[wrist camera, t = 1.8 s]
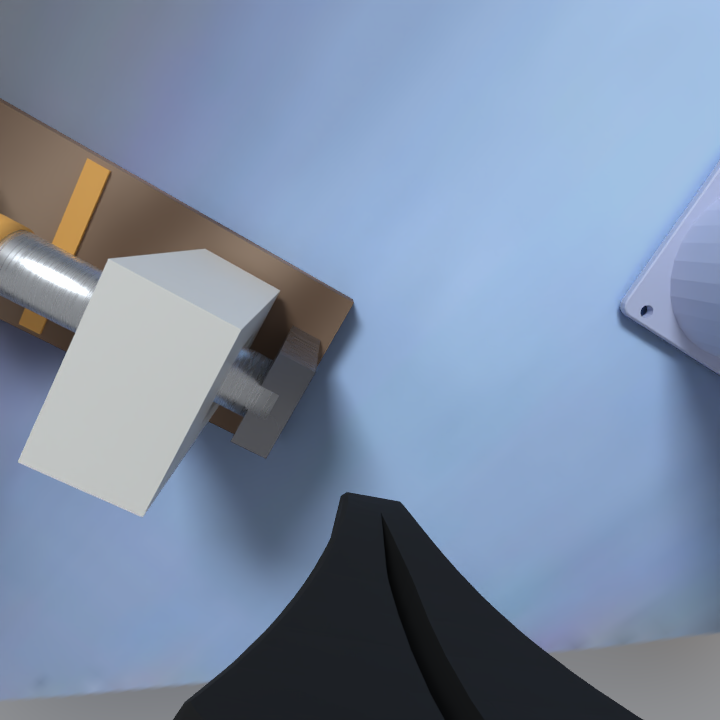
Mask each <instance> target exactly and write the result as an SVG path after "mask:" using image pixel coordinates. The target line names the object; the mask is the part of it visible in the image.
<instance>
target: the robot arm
mask: <svg viewBox="0 0 720 720" xmlns="http://www.w3.org/2000/svg"><path fill="white" fill-rule="evenodd" d="M644 306H646V307H647V312H646V314H644V315H643V316H641V309H642V308H643V307H644ZM620 308H621V311H622V313H623V314H624V315H626V316H627V317H629V318H630V319H632V320H634V321H635V322H637V323H638V324H640V325H641V326H643V327H645V328H646V329H648V330H649V331H651V332H652V333H654V334H656V335H657V336H659V337H660V338H662V339H663V340H665V341H667V342H668V343H670V344H671V345H673V346H674V347H676V348H678V349H679V350H681V351H682V352H684V353H685V354H687V355H689V356H690V357H692V358H693V359H695V360H696V361H698V362H700V363H701V364H703V365H704V366H706V367H707V368H709V369H711V370H712V371H714V372H715V373H717V374H718V375H720V160H719V162H718V163H717V165H716V166H715V168H714V169H713V170H712V172H711V173H710V175H709V176H708V178H707V179H706V180H705V182H704V183H703V185H702V186H701V187H700V189H699V190H698V192H697V193H696V195H695V196H694V197H693V199H692V200H691V202H690V203H689V205H688V206H687V207H686V209H685V210H684V212H683V213H682V215H681V216H680V217H679V219H678V220H677V222H676V223H675V225H674V226H673V227H672V229H671V230H670V232H669V233H668V235H667V236H666V237H665V239H664V240H663V242H662V243H661V244H660V246H659V247H658V249H657V250H656V252H655V253H654V254H653V256H652V257H651V259H650V260H649V262H648V263H647V264H646V266H645V267H644V269H643V270H642V272H641V273H640V274H639V276H638V277H637V279H636V280H635V282H634V283H633V284H632V286H631V287H630V289H629V290H628V292H627V293H626V294H625V296H624V297H623V299H622V301H621V304H620ZM173 720H643V719H641V718H639V717H638V716H636V715H635V714H633V713H632V712H630V711H629V710H627V709H626V708H624V707H623V706H621V705H620V704H618V703H617V702H615V701H614V700H612V699H610V698H609V697H608V696H606V695H604V694H603V693H601V692H600V691H598V690H597V689H595V688H594V687H593V686H591V685H590V684H588V683H587V682H586V681H584V680H583V679H581V678H580V677H578V676H577V675H576V674H574V673H573V672H571V671H570V670H569V669H568V668H566V667H565V666H564V665H562V664H561V663H560V662H558V661H557V660H556V659H555V658H553V657H552V656H551V655H549V654H548V653H547V652H545V651H544V650H543V649H542V648H540V647H539V646H538V645H536V644H535V643H534V642H533V641H532V640H530V639H529V638H528V637H527V636H525V635H524V634H523V633H522V632H521V631H520V630H518V629H517V628H516V627H515V626H514V625H513V624H512V623H511V622H509V621H508V620H507V619H506V618H505V617H504V616H503V615H502V614H501V613H499V612H498V611H497V610H496V609H495V608H494V607H493V606H492V605H491V604H490V603H489V602H488V601H487V600H486V599H484V598H483V597H482V596H481V595H480V594H479V593H478V592H477V590H476V589H475V588H474V587H473V586H472V585H471V584H470V583H469V582H468V581H467V580H466V579H465V578H464V577H463V576H462V575H461V574H460V573H459V572H458V570H457V569H456V568H455V567H454V566H453V565H452V564H451V563H450V561H449V560H448V559H447V558H446V557H445V556H444V555H443V553H442V552H441V551H440V550H439V549H438V547H437V546H436V545H435V544H434V543H433V541H432V540H431V539H430V538H429V537H428V535H427V534H426V533H425V532H424V530H423V529H422V528H421V527H420V525H419V524H418V523H417V522H416V520H415V519H414V518H413V517H412V515H411V514H410V513H409V512H408V510H407V509H406V508H405V507H404V506H403V504H402V503H401V502H399V501H393V500H388V499H382V498H377V497H371V496H365V495H360V494H354V493H349V492H347V493H345V494H343V495H342V496H341V498H340V502H339V506H338V510H337V514H336V518H335V522H334V526H333V530H332V535H331V538H330V540H329V542H328V544H327V546H326V548H325V550H324V552H323V554H322V555H321V557H320V559H319V561H318V562H317V564H316V566H315V568H314V569H313V571H312V572H311V574H310V575H309V577H308V578H307V580H306V581H305V583H304V584H303V586H302V587H301V588H300V590H299V591H298V593H297V594H296V595H295V597H294V598H293V599H292V600H291V602H290V603H289V604H288V605H287V606H286V608H285V609H284V610H283V611H282V613H281V614H280V615H279V616H278V617H277V619H276V620H275V621H274V622H273V623H272V624H271V625H270V626H269V627H268V629H267V630H266V631H265V632H264V633H263V634H262V635H261V636H260V637H259V638H258V639H257V640H256V641H255V642H254V643H252V644H251V645H250V646H249V647H248V648H247V649H246V650H245V651H244V652H243V653H242V654H241V655H240V656H239V657H238V658H237V659H236V660H235V661H234V662H233V663H232V664H231V665H230V666H228V667H227V668H226V669H225V670H224V671H222V672H221V673H220V674H219V675H218V676H216V677H215V678H214V679H213V680H211V681H210V682H209V683H208V684H206V685H205V686H204V687H203V688H202V689H201V690H199V691H198V692H197V693H195V694H194V695H193V696H192V697H191V698H189V699H188V700H187V701H186V702H185V703H184V704H183V706H182V707H181V709H180V710H179V712H178V713H177V715H176V716H175V718H174V719H173Z"/></svg>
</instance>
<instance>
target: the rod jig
mask: <svg viewBox="0 0 720 720" xmlns="http://www.w3.org/2000/svg"><path fill="white" fill-rule="evenodd" d="M197 249H207V250H208V251H210V252H212V253H214V254H216V255H217V256H219V257H221V258H223V259H225V260H226V261H228V262H230V263H232V264H233V265H235V266H237V267H239V268H241V269H242V270H244V271H246V272H248V273H250V274H251V275H253V276H255V277H257V278H259V279H260V280H262V281H264V282H266V283H268V284H269V285H271V286H273V287H275V288H277V289H278V290H280V292H279V294H278V296H277V298H276V300H275V302H274V304H273V305H272V307H271V309H270V311H269V313H268V315H267V317H266V319H265V320H264V322H263V324H262V326H261V328H260V330H259V332H258V334H257V335H256V337H255V339H254V341H253V343H252V345H251V347H250V348H249V347H247V346H245V345H244V346H243V347H242V348H241V350H240V352H239V354H238V356H237V357H236V359H235V361H234V363H233V365H232V367H231V369H230V371H229V373H228V374H227V376H226V378H225V380H224V382H223V384H222V386H221V388H220V389H219V391H218V393H217V395H216V397H215V399H214V401H213V402H215V403H217V404H219V406H218V408H217V410H216V411H215V413H214V414H213V415H212V417H211V418H210V420H209V422H211V423H213V424H215V425H217V426H219V427H221V428H223V429H225V430H227V431H229V432H231V433H233V434H234V436H233V438H232V440H231V442H233V443H235V444H237V445H239V446H241V447H243V448H245V449H247V450H249V451H251V452H253V453H255V454H257V455H260V456H262V457H264V458H267V456H268V454H269V452H270V451H271V449H272V447H273V446H274V444H275V442H276V440H277V439H278V437H279V435H280V433H281V432H282V430H283V428H284V426H285V425H286V423H287V421H288V419H289V418H290V416H291V414H292V412H293V411H294V409H295V407H296V405H297V404H298V402H299V400H300V399H301V397H302V395H303V393H304V392H305V390H306V388H307V386H308V385H309V383H310V381H311V379H312V378H313V376H314V374H315V372H316V368H317V366H318V364H319V363H320V361H321V359H322V357H323V356H324V354H325V352H326V350H327V349H328V347H329V345H330V343H331V342H332V340H333V338H334V336H335V335H336V333H337V331H338V329H339V328H340V326H341V324H342V322H343V321H344V319H345V317H346V315H347V314H348V312H349V310H350V308H351V307H352V305H353V303H354V302H353V299H351V298H349V297H348V296H346V295H344V294H342V293H341V292H339V291H337V290H335V289H334V288H332V287H330V286H328V285H327V284H325V283H323V282H321V281H320V280H318V279H316V278H314V277H313V276H311V275H309V274H307V273H306V272H304V271H302V270H300V269H299V268H297V267H295V266H293V265H292V264H290V263H288V262H286V261H285V260H283V259H281V258H279V257H278V256H276V255H274V254H272V253H271V252H269V251H267V250H265V249H264V248H262V247H260V246H258V245H257V244H255V243H253V242H251V241H250V240H248V239H246V238H244V237H243V236H241V235H239V234H237V233H236V232H234V231H232V230H230V229H229V228H227V227H225V226H223V225H221V224H220V223H218V222H216V221H214V220H213V219H211V218H209V217H207V216H206V215H204V214H202V213H200V212H199V211H197V210H195V209H193V208H192V207H190V206H188V205H186V204H185V203H183V202H181V201H179V200H178V199H176V198H174V197H172V196H171V195H169V194H167V193H165V192H164V191H162V190H160V189H158V188H157V187H155V186H153V185H151V184H150V183H148V182H146V181H144V180H143V179H141V178H139V177H137V176H136V175H134V174H132V173H130V172H129V171H127V170H125V169H123V168H122V167H120V166H118V165H116V164H115V163H113V162H111V161H109V160H108V159H106V158H104V157H102V156H101V155H99V154H97V153H95V152H94V151H92V150H90V149H88V148H87V147H85V146H83V145H81V144H79V143H78V142H76V141H74V140H72V139H71V138H69V137H67V136H65V135H64V134H62V133H60V132H58V131H57V130H55V129H53V128H51V127H50V126H48V125H46V124H44V123H43V122H41V121H39V120H37V119H36V118H34V117H32V116H30V115H29V114H27V113H25V112H23V111H22V110H20V109H18V108H16V107H15V106H13V105H11V104H9V103H8V102H6V101H4V100H2V99H1V98H0V319H1V320H3V321H5V322H7V323H9V324H11V325H13V326H15V327H17V328H19V329H21V330H23V331H25V332H27V333H29V334H31V335H33V336H35V337H37V338H39V339H42V340H44V341H46V342H48V343H50V344H52V345H54V346H56V347H58V348H60V349H62V350H64V351H66V352H67V350H68V348H69V346H70V344H71V341H72V339H73V337H74V335H75V332H76V330H77V328H78V326H79V323H80V321H81V319H82V317H83V314H84V312H85V310H86V308H87V305H88V303H89V301H90V299H91V297H92V294H93V292H94V290H95V288H96V285H97V283H98V281H99V279H100V276H101V274H102V272H103V270H104V267H105V265H106V263H107V261H108V259H110V258H120V257H130V256H139V255H149V254H159V253H168V252H178V251H188V250H197Z"/></svg>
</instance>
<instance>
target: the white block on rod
mask: <svg viewBox="0 0 720 720" xmlns="http://www.w3.org/2000/svg"><path fill="white" fill-rule="evenodd" d="M279 292H280V290H278V289H277V288H275V287H273V286H271V285H269V284H268V283H266V282H264V281H262V280H260V279H259V278H257V277H255V276H253V275H251V274H250V273H248V272H246V271H244V270H242V269H241V268H239V267H237V266H235V265H233V264H232V263H230V262H228V261H226V260H225V259H223V258H221V257H219V256H217V255H216V254H214V253H212V252H210V251H208V250H207V249H197V250H188V251H178V252H168V253H159V254H149V255H139V256H130V257H120V258H110V259H108V261H107V263H106V265H105V267H104V270H103V272H102V274H101V276H100V279H99V281H98V283H97V285H96V288H95V290H94V292H93V294H92V297H91V299H90V301H89V303H88V305H87V308H86V310H85V312H84V314H83V317H82V319H81V321H80V323H79V326H78V328H77V330H76V332H75V335H74V337H73V339H72V341H71V344H70V346H69V348H68V350H67V353H66V355H65V357H64V359H63V362H62V364H61V366H60V368H59V371H58V373H57V375H56V377H55V380H54V382H53V384H52V386H51V389H50V391H49V393H48V395H47V398H46V400H45V402H44V404H43V407H42V409H41V411H40V413H39V415H38V418H37V420H36V422H35V424H34V427H33V429H32V431H31V433H30V436H29V438H28V440H27V442H26V445H25V447H24V449H23V451H22V454H21V456H20V458H19V460H18V463H21V464H23V465H25V466H27V467H30V468H32V469H34V470H36V471H39V472H41V473H43V474H45V475H48V476H50V477H52V478H55V479H57V480H59V481H61V482H64V483H66V484H68V485H70V486H73V487H75V488H77V489H79V490H82V491H84V492H86V493H88V494H91V495H93V496H95V497H98V498H100V499H102V500H104V501H107V502H109V503H111V504H113V505H116V506H118V507H120V508H122V509H125V510H127V511H129V512H131V513H134V514H136V515H138V516H141V517H143V516H144V515H145V513H146V512H147V510H148V509H149V507H150V506H151V504H152V503H153V502H154V500H155V499H156V497H157V496H158V494H159V493H160V491H161V490H162V488H163V487H164V486H165V484H166V483H167V481H168V480H169V478H170V477H171V475H172V474H173V472H174V471H175V469H176V468H177V467H178V465H179V464H180V462H181V461H182V459H183V458H184V456H185V455H186V453H187V452H188V450H189V449H190V448H191V446H192V445H193V443H194V442H195V440H196V439H197V437H198V436H199V434H200V433H201V431H202V430H203V429H204V427H205V426H206V424H207V423H208V421H209V420H210V418H211V417H212V415H213V414H214V413H215V411H216V410H217V408H218V406H219V404H217V403H215V402H213V401H214V399H215V397H216V395H217V393H218V391H219V389H220V388H221V386H222V384H223V382H224V380H225V378H226V376H227V374H228V373H229V371H230V369H231V367H232V365H233V363H234V361H235V359H236V357H237V356H238V354H239V352H240V350H241V348H242V347H243V346H244V345H245V346H247V347H249V348H250V347H251V345H252V343H253V341H254V339H255V337H256V335H257V334H258V332H259V330H260V328H261V326H262V324H263V322H264V320H265V319H266V317H267V315H268V313H269V311H270V309H271V307H272V305H273V304H274V302H275V300H276V298H277V296H278V294H279Z"/></svg>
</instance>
